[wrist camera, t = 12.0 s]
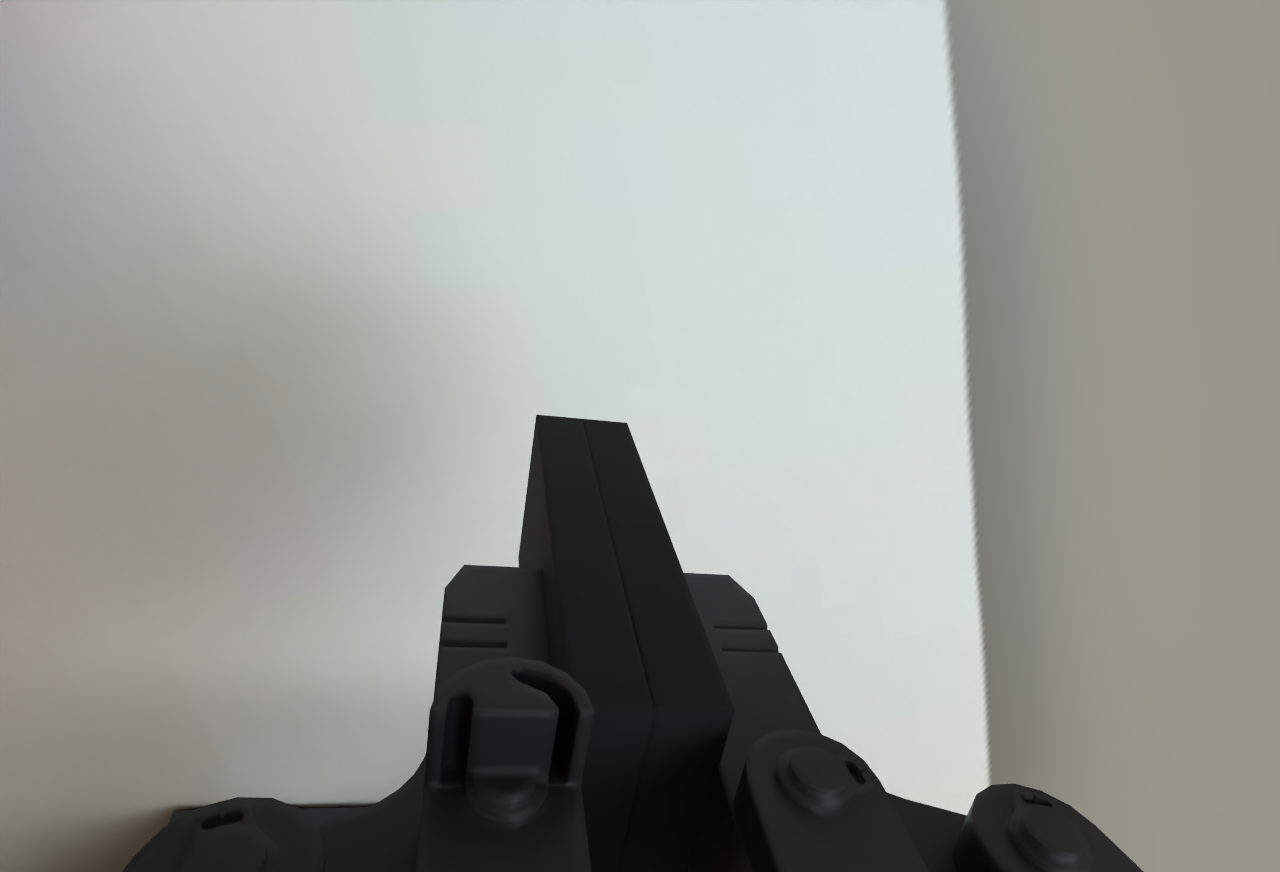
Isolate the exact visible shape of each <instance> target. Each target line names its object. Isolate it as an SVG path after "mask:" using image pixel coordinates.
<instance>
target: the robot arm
mask: <svg viewBox="0 0 1280 872" xmlns="http://www.w3.org/2000/svg"><path fill="white" fill-rule="evenodd" d="M123 872H1143V871H1142V870H1141V869H1140V868H1139V867H1138V866H1137V865H1136V864H1135V863H1134V862H1133V861H1132V860H1131V859H1130V858H1129V857H1128V856H1126V854H1124V853H1123V852H1122V851H1121V850H1120V849H1119V848H1118V847H1117V846H1116V845H1115V844H1114V843H1113V842H1112V841H1111V840H1110V839H1109V838H1108V837H1107V836H1105V834H1104V833H1102V832H1101V831H1100V830H1099V829H1098V828H1097V827H1096V826H1095V825H1094V824H1093V823H1091V822H1090V821H1089V820H1087V819H1086V818H1085V817H1083V816H1082V815H1081V814H1080V813H1079V812H1077V811H1076V810H1075V809H1073V808H1072V807H1071V806H1070V805H1068V804H1065V803H1064V802H1062V801H1060V800H1058V799H1056V798H1054V797H1052V796H1050V795H1048V794H1046V793H1044V792H1043V791H1040V790H1036V789H1032V788H1028V787H1024V786H1021V785H1017V784H1000V785H991V786H989V787H988V788H986V789H985V790H983V791H981V792H980V793H978V794H977V795H976V797H975V799H974V802H973V804H972V806H971V808H970V810H969V813H968V815H967V816H966V815H962V814H959V813H955V812H951V811H948V810H944V809H940V808H936V807H933V806H929V805H925V804H921V803H918V802H914V801H910V800H906V799H903V798H901V797H898V796H895V795H892V794H889V793H887V792H886V791H885V790H884V788H883V786H882V784H881V782H880V781H879V779H878V778H877V777H876V775H875V774H874V773H873V772H872V770H871V769H870V768H869V766H868V765H867V764H866V762H865V761H864V760H863V759H862V758H860V757H859V756H858V755H856V754H855V753H854V752H852V751H851V750H850V749H848V748H847V747H846V746H844V745H843V744H842V743H839V742H837V741H835V740H833V739H830V738H828V737H826V736H823V735H821V733H820V731H819V729H818V727H817V725H816V723H815V721H814V719H813V717H812V715H811V713H810V711H809V709H808V707H807V705H806V702H805V700H804V698H803V696H802V694H801V692H800V690H799V688H798V686H797V684H796V682H795V680H794V678H793V676H792V674H791V672H790V670H789V668H788V666H787V664H786V662H785V660H784V658H783V656H782V654H781V653H778V646H777V644H776V642H775V640H774V638H773V636H772V634H771V632H770V630H767V623H766V621H765V619H764V617H763V615H762V613H761V611H760V609H759V607H758V605H757V603H756V601H755V599H754V598H753V597H752V596H751V595H750V594H749V593H748V592H746V591H745V590H744V589H743V588H742V587H741V586H740V585H739V584H738V583H737V582H736V581H734V580H733V579H732V578H731V577H730V576H729V575H714V574H694V573H683V571H682V568H681V566H680V563H679V560H678V558H677V555H676V552H675V550H674V547H673V544H672V542H671V539H670V536H669V534H668V531H667V528H666V526H665V523H664V520H663V518H662V515H661V513H660V510H659V507H658V505H657V502H656V499H655V497H654V494H653V491H652V489H651V486H650V483H649V481H648V478H647V475H646V473H645V470H644V467H643V465H642V462H641V459H640V457H639V454H638V451H637V449H636V446H635V443H634V441H633V438H632V435H631V433H630V430H629V427H628V425H627V423H621V422H610V421H599V420H588V419H577V418H566V417H555V416H544V415H536V423H535V431H534V439H533V447H532V455H531V463H530V471H529V479H528V487H527V495H526V503H525V511H524V519H523V527H522V535H521V543H520V550H519V568H517V567H497V566H476V565H464V566H463V567H462V568H461V569H460V571H459V572H458V573H457V574H456V575H455V577H454V578H453V579H452V580H451V581H450V583H449V584H448V585H447V586H446V588H445V593H444V603H443V612H442V622H441V632H440V642H439V652H438V662H437V672H436V681H435V691H434V701H433V704H432V706H431V709H430V716H429V728H428V741H427V752H426V755H425V758H424V760H423V761H422V763H421V764H420V766H419V768H418V769H417V771H416V773H415V774H414V775H413V776H412V777H411V778H410V779H409V780H408V781H407V782H406V783H405V784H404V785H403V786H402V787H401V788H400V789H399V790H397V791H396V792H394V793H392V794H391V795H389V796H388V797H386V798H385V799H383V800H381V801H380V802H378V803H376V804H373V805H371V806H368V807H366V808H363V809H361V810H358V811H356V812H353V813H349V814H346V815H343V816H339V817H336V818H332V819H329V820H325V821H322V822H319V823H315V824H314V823H313V822H312V821H311V820H310V819H309V818H308V817H307V815H306V814H305V813H304V812H303V811H302V810H301V809H299V808H297V807H294V806H291V805H289V804H286V803H284V802H281V801H278V800H276V799H273V798H239V797H237V798H233V799H230V800H226V801H222V802H218V803H215V804H211V805H207V806H203V807H200V808H198V809H196V810H194V811H192V812H191V813H189V814H187V815H185V816H184V817H182V818H180V819H178V820H176V821H175V822H173V823H171V824H169V825H167V826H166V827H164V828H163V829H162V830H161V831H160V832H159V833H158V834H157V835H156V836H155V837H154V838H153V839H151V840H150V841H149V842H148V843H147V844H146V845H145V846H144V847H143V848H142V849H141V850H140V851H139V852H138V853H137V854H136V855H135V856H134V857H133V859H132V860H131V861H130V863H129V864H128V865H127V867H126V868H125V869H124V871H123Z"/></svg>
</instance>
